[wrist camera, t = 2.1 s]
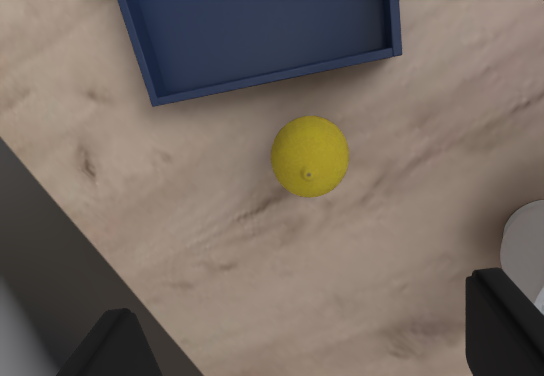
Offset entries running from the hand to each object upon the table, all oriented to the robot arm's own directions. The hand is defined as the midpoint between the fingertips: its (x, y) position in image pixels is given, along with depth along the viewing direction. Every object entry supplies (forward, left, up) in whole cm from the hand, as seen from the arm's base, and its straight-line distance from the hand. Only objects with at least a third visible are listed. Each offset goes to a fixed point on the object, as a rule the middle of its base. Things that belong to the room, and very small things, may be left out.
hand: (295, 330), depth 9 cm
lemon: (0, 0, -20) cm, 20 cm away
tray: (+2, -12, -20) cm, 23 cm away
